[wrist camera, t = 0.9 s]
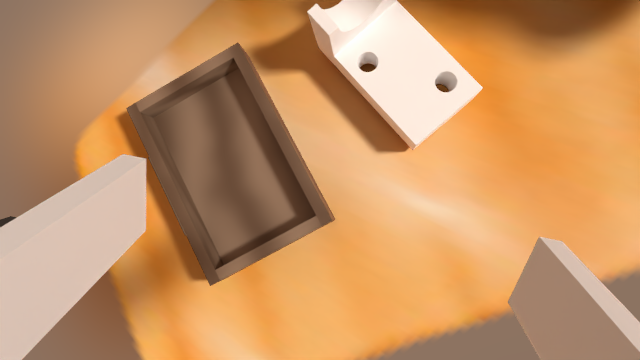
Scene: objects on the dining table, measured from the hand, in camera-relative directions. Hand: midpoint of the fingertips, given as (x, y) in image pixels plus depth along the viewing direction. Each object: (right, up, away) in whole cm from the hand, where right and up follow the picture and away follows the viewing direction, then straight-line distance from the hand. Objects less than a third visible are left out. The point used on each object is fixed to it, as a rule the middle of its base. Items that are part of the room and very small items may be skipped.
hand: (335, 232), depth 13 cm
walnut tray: (-9, +3, +24) cm, 26 cm away
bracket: (+6, +12, +23) cm, 27 cm away
